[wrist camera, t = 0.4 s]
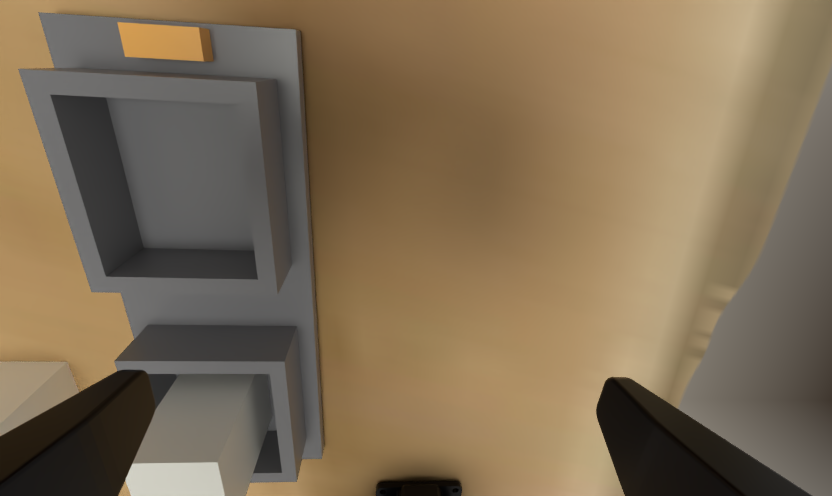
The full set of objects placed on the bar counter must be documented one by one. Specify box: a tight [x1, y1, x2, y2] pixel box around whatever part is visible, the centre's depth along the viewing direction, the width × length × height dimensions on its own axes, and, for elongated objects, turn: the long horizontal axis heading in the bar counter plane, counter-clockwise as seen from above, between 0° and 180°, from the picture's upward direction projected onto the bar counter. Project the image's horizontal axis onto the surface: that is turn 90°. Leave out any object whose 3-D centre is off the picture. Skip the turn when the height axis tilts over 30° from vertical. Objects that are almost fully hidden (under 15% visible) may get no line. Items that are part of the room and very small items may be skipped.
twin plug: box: [126, 374, 272, 496], centre depth 21 cm, size 5×4×7 cm
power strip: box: [18, 12, 324, 483], centre depth 21 cm, size 26×10×4 cm, turn 177°
